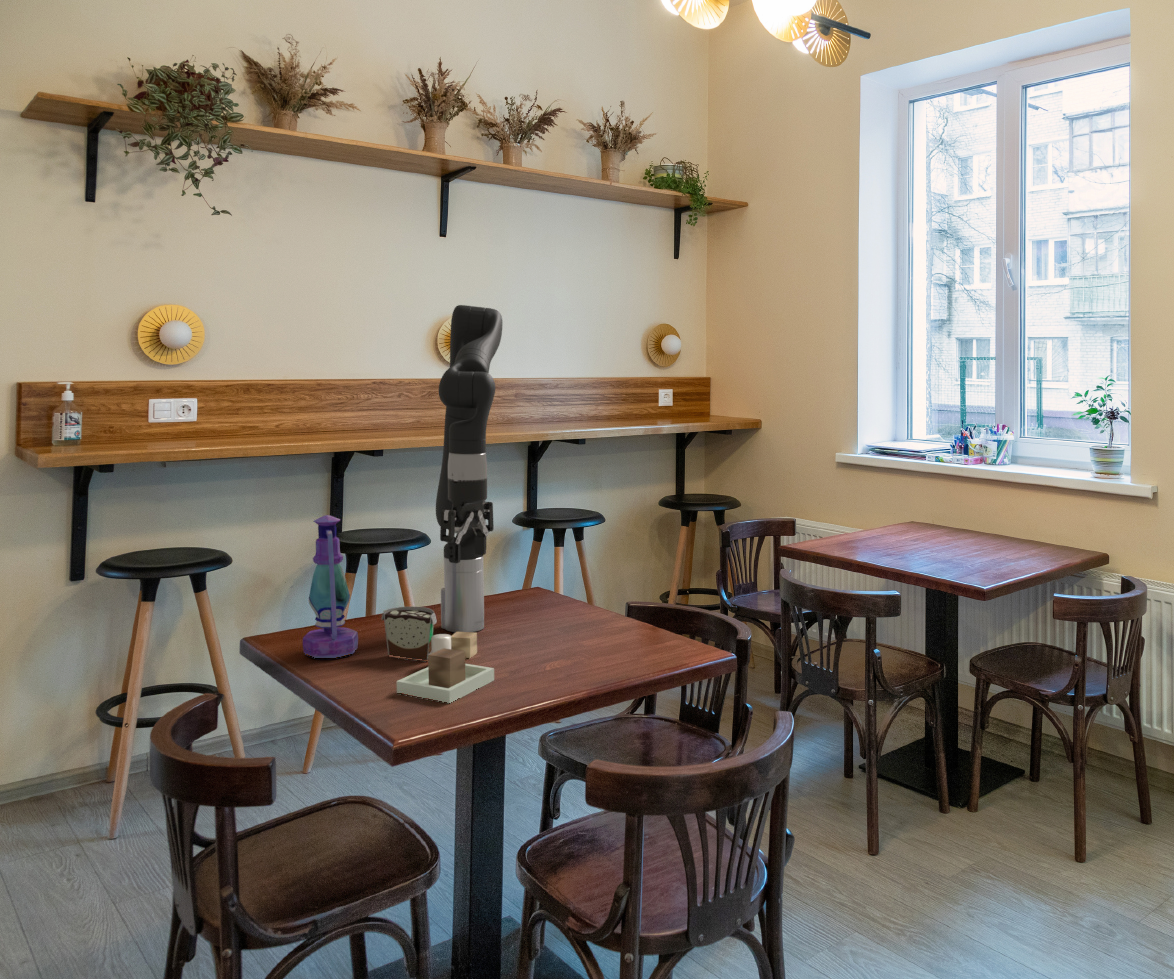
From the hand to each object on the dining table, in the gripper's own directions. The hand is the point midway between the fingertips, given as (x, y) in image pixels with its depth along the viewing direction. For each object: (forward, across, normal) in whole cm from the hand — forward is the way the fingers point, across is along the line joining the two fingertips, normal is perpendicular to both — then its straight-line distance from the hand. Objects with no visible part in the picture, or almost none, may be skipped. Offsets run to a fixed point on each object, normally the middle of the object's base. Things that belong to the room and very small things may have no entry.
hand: (467, 558), depth 184 cm
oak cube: (+24, -12, -9) cm, 29 cm away
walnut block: (+23, +7, 0) cm, 24 cm away
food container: (+25, -6, -18) cm, 31 cm away
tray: (+24, +7, 0) cm, 25 cm away
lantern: (+25, +1, -35) cm, 43 cm away
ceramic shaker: (+24, -4, -9) cm, 26 cm away
